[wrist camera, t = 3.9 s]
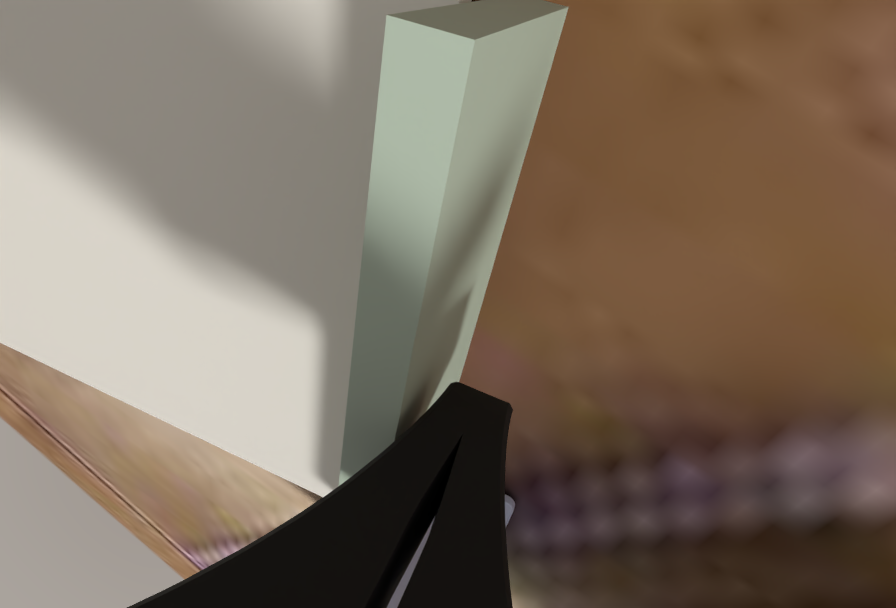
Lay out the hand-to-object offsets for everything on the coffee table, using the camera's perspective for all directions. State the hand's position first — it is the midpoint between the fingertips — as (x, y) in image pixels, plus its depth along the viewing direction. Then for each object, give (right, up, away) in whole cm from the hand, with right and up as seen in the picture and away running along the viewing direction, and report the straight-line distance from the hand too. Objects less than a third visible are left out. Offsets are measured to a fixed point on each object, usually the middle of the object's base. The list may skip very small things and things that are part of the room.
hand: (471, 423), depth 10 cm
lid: (-8, +6, +5) cm, 12 cm away
